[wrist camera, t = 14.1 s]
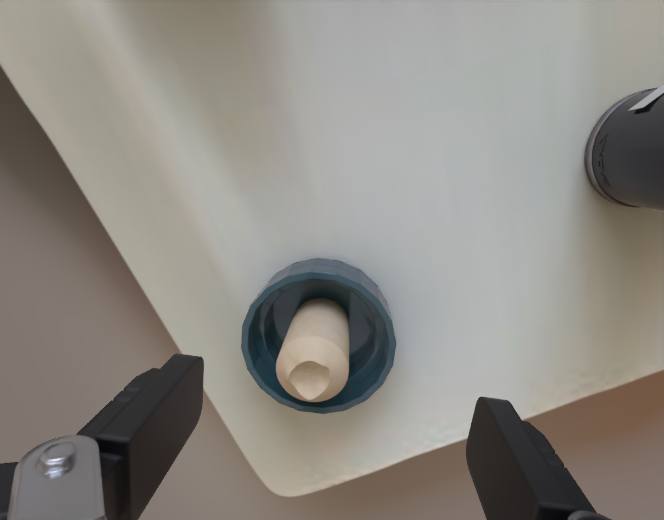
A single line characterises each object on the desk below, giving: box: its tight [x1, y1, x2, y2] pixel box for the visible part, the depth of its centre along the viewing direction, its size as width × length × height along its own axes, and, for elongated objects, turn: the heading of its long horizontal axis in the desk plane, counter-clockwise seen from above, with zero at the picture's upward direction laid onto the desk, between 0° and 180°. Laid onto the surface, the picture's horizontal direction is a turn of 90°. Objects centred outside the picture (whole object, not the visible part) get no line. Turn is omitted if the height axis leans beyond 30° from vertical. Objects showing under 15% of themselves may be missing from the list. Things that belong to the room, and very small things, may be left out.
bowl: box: [241, 258, 396, 414], centre depth 35 cm, size 13×13×5 cm
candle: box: [276, 298, 349, 402], centre depth 32 cm, size 6×6×10 cm
